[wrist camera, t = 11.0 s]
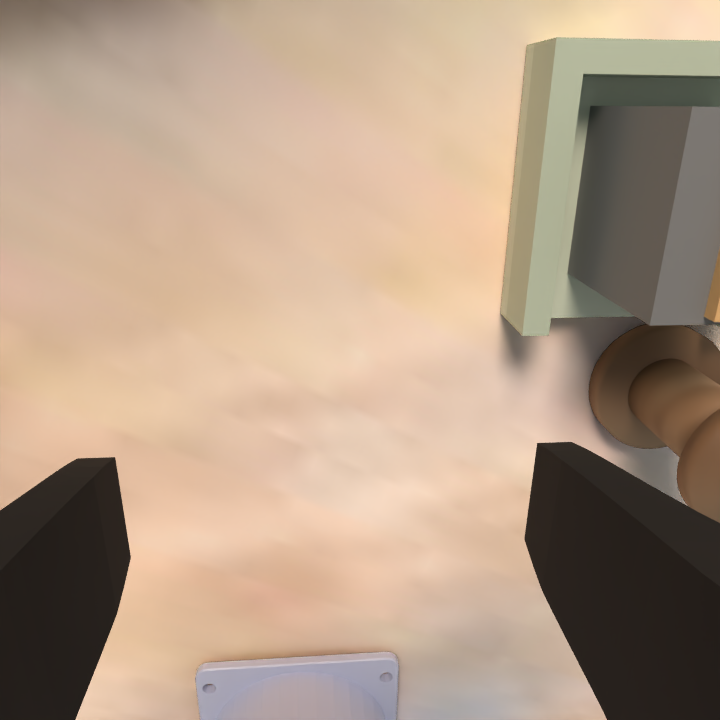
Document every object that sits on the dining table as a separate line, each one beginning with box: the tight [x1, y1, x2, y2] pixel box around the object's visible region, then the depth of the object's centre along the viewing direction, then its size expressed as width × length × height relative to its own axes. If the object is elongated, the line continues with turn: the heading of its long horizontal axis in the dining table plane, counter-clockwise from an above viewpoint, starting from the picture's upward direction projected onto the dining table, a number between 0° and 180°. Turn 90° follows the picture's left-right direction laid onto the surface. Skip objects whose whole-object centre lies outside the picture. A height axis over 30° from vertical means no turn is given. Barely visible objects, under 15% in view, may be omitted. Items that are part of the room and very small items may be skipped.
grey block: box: [567, 106, 720, 326], centre depth 16 cm, size 5×4×5 cm
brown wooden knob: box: [589, 324, 720, 523], centre depth 19 cm, size 4×4×6 cm
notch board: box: [500, 37, 720, 336], centre depth 18 cm, size 8×7×2 cm
